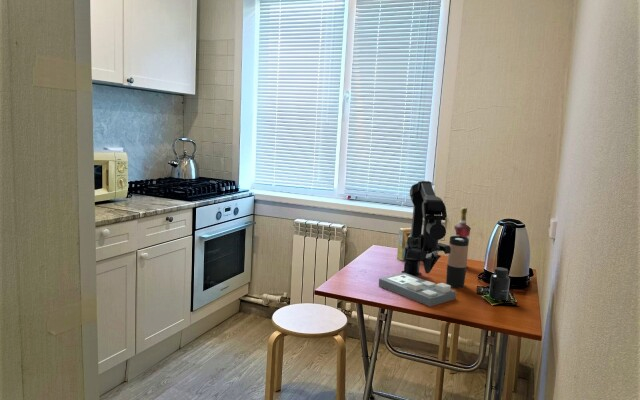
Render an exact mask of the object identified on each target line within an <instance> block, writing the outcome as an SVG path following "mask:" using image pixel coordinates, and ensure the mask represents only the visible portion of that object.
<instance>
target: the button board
mask: <svg viewBox="0 0 640 400" xmlns="http://www.w3.org/2000/svg"><path fill="white" fill-rule="evenodd" d="M412 281H416V282H419V283H421V282H425V281H427V280H426V279H423V278H419V277H417V276H416V275H415V276H412V275H409V274H406V273H402V272H401V273H397V274H393V275H389V276H384V277H380V278H378V287H381V288H383V289H385V290H389V291H390V292H393V293H395V294H398V295H400V296H403V297H405V298H407V299H410V300H413V301H415V302H418V303H420V304H422V303H423V305H425V306H428V307H433V306H437V305H440V304H443V303H446V302H449V301H453V300H456V296H457V291H456V290H454V289H452V288H451V289H450V292H446V293H442V292H439V291H437V290H435V286H436V285H435V286H433V287H430V288H429V287H426V286H423V285H422V290H419V291H413V290H410V289H408V288H407V283H408V282H412ZM425 290H431V291H434V292H436V293H437V295H436V296H433V297H428V296H426V295H423V294H421V293H422V291H425Z"/></svg>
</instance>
